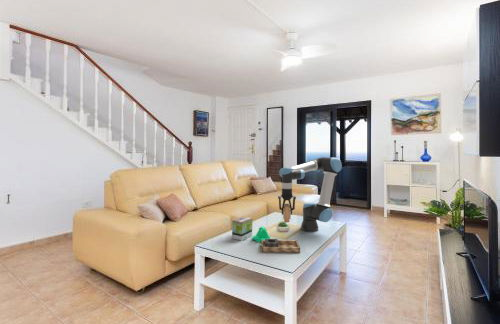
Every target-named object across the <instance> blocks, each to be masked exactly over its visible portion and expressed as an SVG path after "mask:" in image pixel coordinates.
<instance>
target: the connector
mask: <svg viewBox="0 0 500 324" xmlns="http://www.w3.org/2000/svg"><path fill="white" fill-rule="evenodd" d="M289 215H290V206H289V203H285V205H284V219H283V221H284V222H283V223H290V219H289Z"/></svg>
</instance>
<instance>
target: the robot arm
mask: <svg viewBox="0 0 500 324" xmlns="http://www.w3.org/2000/svg"><path fill="white" fill-rule="evenodd" d="M342 167H343V165H342V161H341V159H339V158H338V157H325V156H323V157H322V156H321V157H318V158H315V159H314V158H313V159H311V160H310V161H308V162H304V163H301V164H297V165H294V166H290V167H286V166H285V167H283V168H282V167H281V168H280V170H279V172H278V173H279V176H280V177H281V194H280V196H278V197H277V198H278V206H279V207H278V208H279V211H281V215H282V220H284V206H285V204H286V201H288V204H289V206H290V215H289V220H292V219H291V215H293V211H294V210H296V209H295V207H296V198H297V197H296V195H293V180H302V179H304V178H305V177H306V173H308V172H310V171H313V172H315V171H322V173H323V174H324V175H323V180H322V185H321V188H320V189H321V191H320V195H319V199H318V202H306V203H303V205H302V222H301V225H300V229H301V231H304V232H309V233H312V232H313V233H314V232H318V231H319V226H318V225H319V224H318V221H319V222H322V223H328V222H330V221H331V219H332V217H333V214H334V213H333V210H332V209H331V208H332V206H331V204H330V203H331V198H332V192H333V189H334V182H335V177H336V176H337V175H338V173H339V172H341V170H342V169H343V168H342ZM281 199H283V201H282V200H281ZM291 199H292V201H291Z"/></svg>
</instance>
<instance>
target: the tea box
mask: <svg viewBox="0 0 500 324" xmlns="http://www.w3.org/2000/svg"><path fill="white" fill-rule="evenodd" d="M231 227H232V228H231V238H232V239H234V240H237V241H241V242H242V241H244V240H246V239H248V238H250V237H253V218H252V217H247V216H240V217H238V218H235V219H233V220H232V224H231Z"/></svg>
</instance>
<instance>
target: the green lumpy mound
mask: <svg viewBox="0 0 500 324" xmlns="http://www.w3.org/2000/svg"><path fill="white" fill-rule="evenodd" d="M265 239H271V236H270V234H269V232H268V230H267V229H266V227H265V226H260V227H259V228H258V230H257V232H256V234H255V235H252V236H251V240H254V242H256V243H261V240H265Z"/></svg>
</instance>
